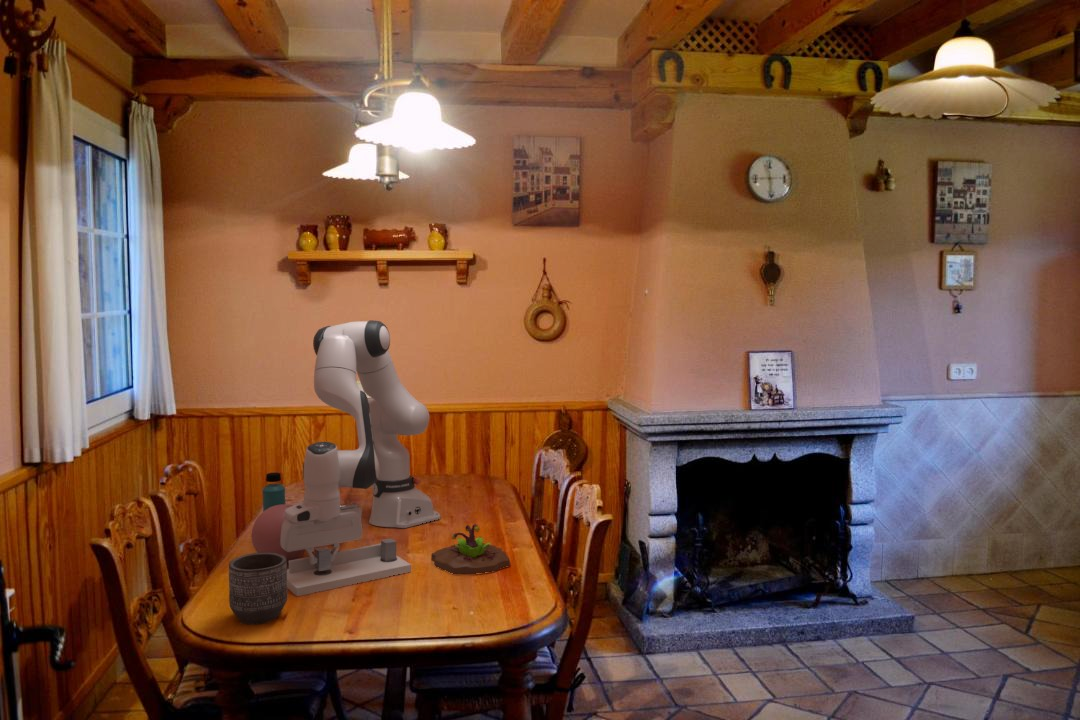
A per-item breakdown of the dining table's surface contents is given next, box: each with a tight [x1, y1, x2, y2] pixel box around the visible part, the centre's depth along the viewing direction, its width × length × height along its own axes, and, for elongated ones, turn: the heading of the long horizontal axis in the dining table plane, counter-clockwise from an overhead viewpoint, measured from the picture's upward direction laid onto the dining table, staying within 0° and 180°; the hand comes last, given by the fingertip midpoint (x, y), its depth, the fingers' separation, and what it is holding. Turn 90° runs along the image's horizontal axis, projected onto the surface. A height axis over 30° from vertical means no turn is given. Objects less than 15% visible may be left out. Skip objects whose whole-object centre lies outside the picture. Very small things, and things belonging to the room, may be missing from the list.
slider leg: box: [314, 546, 332, 571], centre depth 202 cm, size 3×4×5 cm, turn 36°
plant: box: [430, 523, 511, 575], centre depth 216 cm, size 20×20×11 cm
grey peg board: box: [287, 538, 412, 597], centre depth 205 cm, size 30×14×7 cm, turn 126°
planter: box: [228, 552, 288, 625], centre depth 178 cm, size 12×12×13 cm
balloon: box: [251, 504, 306, 563], centre depth 215 cm, size 15×20×15 cm
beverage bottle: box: [262, 471, 287, 512], centre depth 232 cm, size 6×7×20 cm
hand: (322, 562), depth 201 cm, fingers closed on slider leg, 3 cm apart
